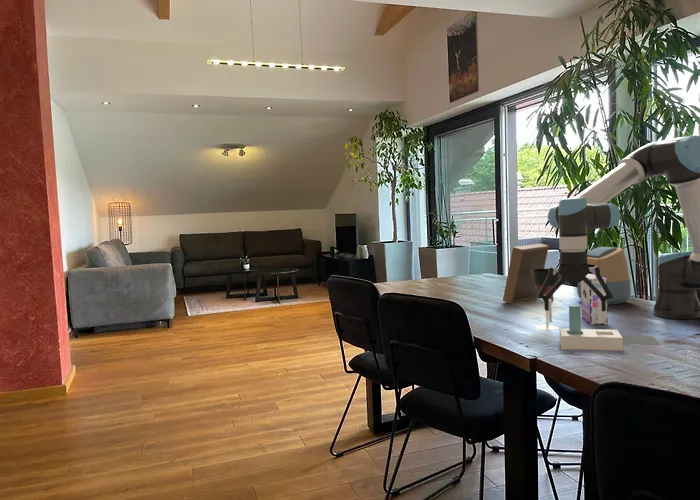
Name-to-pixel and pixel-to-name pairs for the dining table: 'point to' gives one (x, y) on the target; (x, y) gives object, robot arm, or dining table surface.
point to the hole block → (591, 339)
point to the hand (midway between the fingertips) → (574, 321)
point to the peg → (574, 319)
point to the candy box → (592, 301)
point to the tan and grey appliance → (611, 272)
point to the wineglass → (539, 279)
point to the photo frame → (524, 272)
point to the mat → (640, 340)
